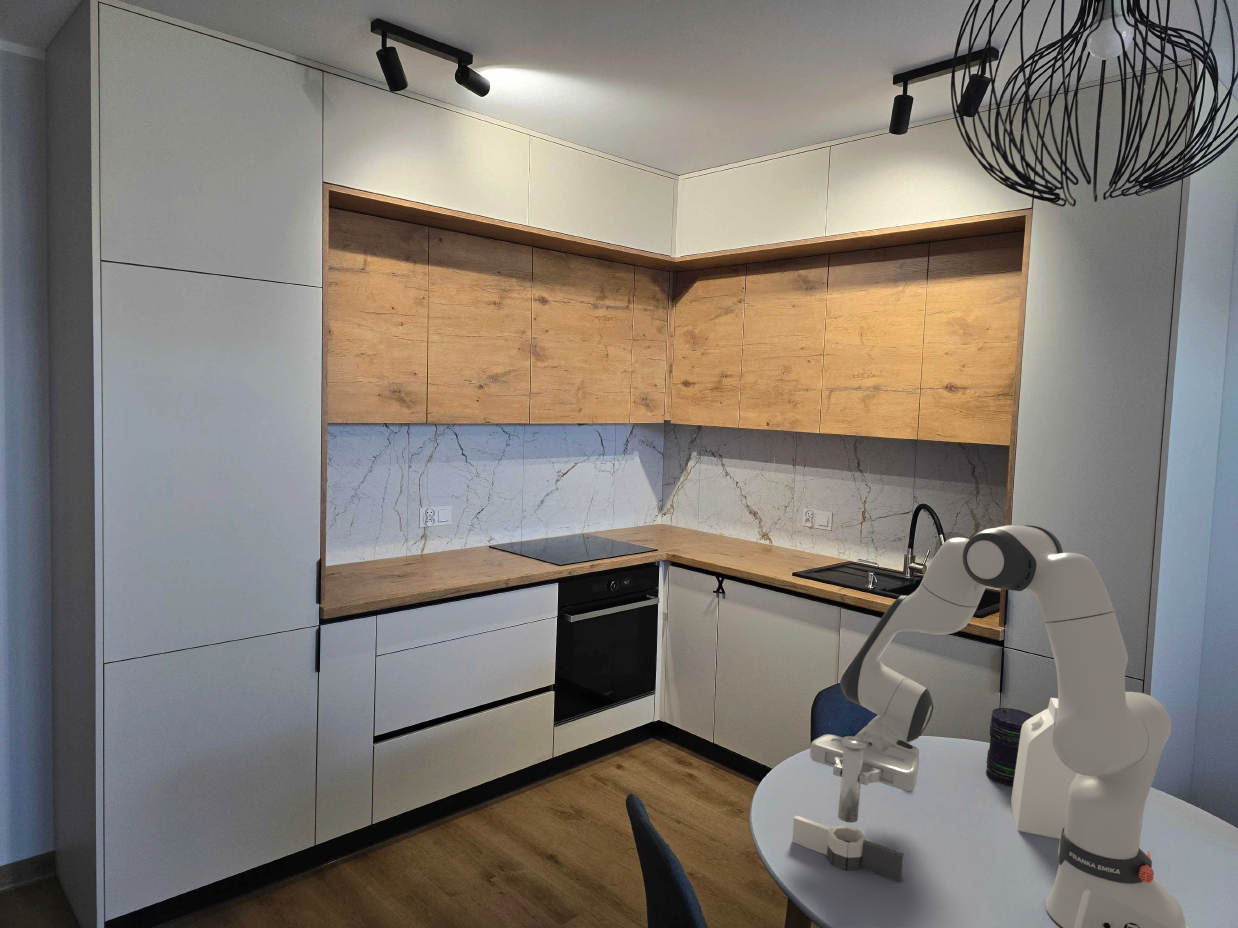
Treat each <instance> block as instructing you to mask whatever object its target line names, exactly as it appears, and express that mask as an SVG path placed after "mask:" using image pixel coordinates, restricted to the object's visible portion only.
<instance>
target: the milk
mask: <svg viewBox="0 0 1238 928" xmlns="http://www.w3.org/2000/svg"><path fill="white" fill-rule="evenodd" d="M1057 717H1058V697H1057V698H1056V697H1050V698H1049V702H1048V706H1047V708H1045V709H1044V710H1042V711H1040V712H1039V713H1037V714H1035V715H1033V717H1031V718H1030V719H1028V720H1027V721H1025V722H1024V724H1023V725H1022V728H1021V734H1020V741H1019V748H1018V755H1017V762H1016V769H1015V777H1014V784H1013V787H1012V791H1011V792H1012V793H1011V798H1010V799H1011V800H1010V806H1011V811H1012V814H1013V818H1014V823H1015V826H1016V830H1017V831H1018V832H1023V833H1024V832H1025V833H1029V834H1034V835H1038V836H1043V837H1049V838H1053V839H1058V840H1060V835H1061V832H1062V829H1063V828H1064V827H1065V819H1066V810H1067V801H1068V791H1069V787H1070V785H1071V783H1072V781H1073V779H1074V778H1075V776H1076V774H1077V773H1076V772H1074V771H1072V770H1071V769H1069V768H1068V767H1067V766H1066V765H1065V764H1064V763H1063V762H1062V761H1061V760H1060V759H1059V757H1058V756H1057V754H1056V752H1055V749H1054V747H1053V742H1052V734H1053V730H1054V727H1055V724H1056V721H1057Z"/></svg>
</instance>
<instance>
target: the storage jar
mask: <svg viewBox="0 0 1238 928" xmlns="http://www.w3.org/2000/svg"><path fill="white" fill-rule="evenodd" d="M1033 716H1034V715H1033V714H1031V713H1029V712H1027V711H1024V710H1020V709H1017V708H1016V709H1015V708H1010V707H1009V708H1008V707H997V708H994V709H992V710H991V717H990V722H989V723H990V724H989V736H990V737H989V738H990V739H989V747H988V749H987V755H986V770H985V775H986V777H987V778H988V779H989V780H991V781H993V782H994V783H996V784H999V785H1001V786H1005V787H1009V788H1013V784H1014V777H1015V769H1016V762H1017V755H1018V748H1019V741H1020V734H1021V728H1022V725H1023V724H1024V722H1025V721H1027V720H1028V719H1030V718H1031V717H1033Z"/></svg>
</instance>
